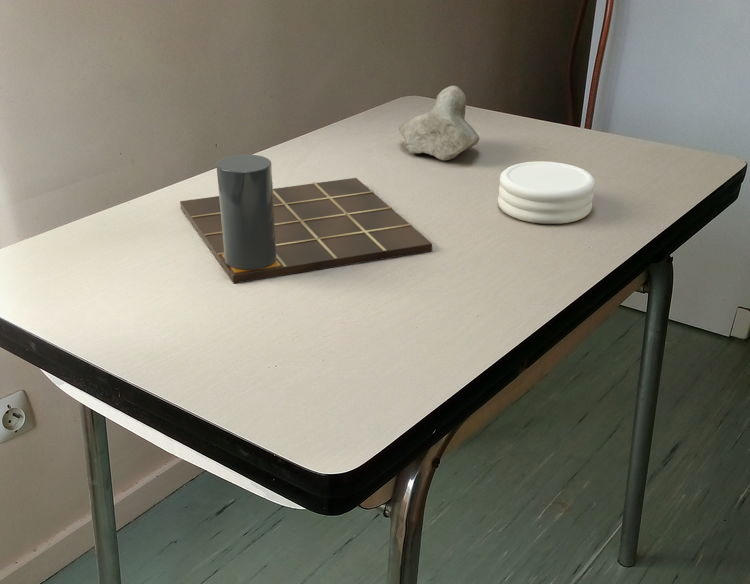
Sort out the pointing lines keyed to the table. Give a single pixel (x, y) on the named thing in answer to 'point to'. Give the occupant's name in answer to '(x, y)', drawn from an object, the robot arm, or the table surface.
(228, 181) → the glossy charcoal cylinder
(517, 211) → the white ribbed disc
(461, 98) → the stone
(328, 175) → the table surface
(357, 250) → the board
